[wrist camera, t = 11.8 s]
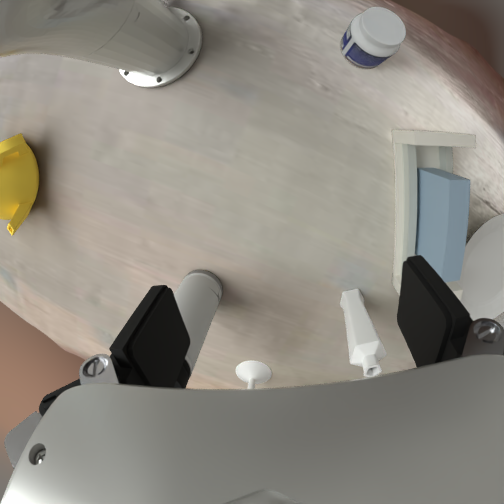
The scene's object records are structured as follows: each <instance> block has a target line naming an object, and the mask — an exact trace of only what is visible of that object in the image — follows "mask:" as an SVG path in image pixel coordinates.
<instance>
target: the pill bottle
mask: <svg viewBox="0 0 504 504" xmlns="http://www.w3.org/2000/svg"><path fill="white" fill-rule="evenodd" d="M405 36H406V29H405V26H404V24H403V22H402V20H401V19H400V18H399V17H398V16H397V15H396V14H395V13H393V12H392V11H390V10H388V9H386V8H382V7H371V8H368V9H367V10H365V11H364V13H361V14H359V15H357V16H356V17H355V18H354V19H353V20H352V22H351V24H350V25H349V27H348V29H347V30H346V32H345V34H344V36H343V37H342V40H341V44H340V48H341V52H342V54H343V56H344V57H345V59H346V60H347V61H348V62H349V63H351V64H352V65H354V66H356V67H358V68H362V69H371V68H374V67H376V66H378V65H379V64H381V63H382V62H383V61H385V60H386V59H388V58H389V57H390V56H392V55H393V54H395V53H396V52H397V51H398V49H399V47H400V44H401V43H402V42H403V40H404V39H405Z"/></svg>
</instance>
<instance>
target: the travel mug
mask: <svg viewBox="0 0 504 504" xmlns="http://www.w3.org/2000/svg"><path fill="white" fill-rule="evenodd" d="M222 293H223V288H222V285H221V283H220V281H219V279H218V278H217V277H216V276H215V275H213V274H212V273H210V272H208V271H204V270H195V271H192V272H190V273H188V274H187V275H186V277H185V278H184V280H183V281H182V283H181V284H180V286H179V287H178V289H177V290H176V292H175V293H174V297H175V300H176V302H177V305H178V308H179V310H180V313H181V316H182V318H183V321H184V324H185V326H186V329H187V331H188V334H189V336H190V346H189V349H188V352H187V354H186V357H185V359H184V362H183V365H182V367H181V370H180V373H179V375H178V378H177V381H176V383H175V386H174V388H186V385H187V383H188V380H189V378H190V376H191V374H192V371H193V368H194V366H195V363H196V361H197V358H198V355H199V353H200V350H201V348H202V345H203V343H204V340H205V337H206V335H207V332H208V330H209V327H210V325H211V322H212V319H213V317H214V314H215V312H216V309H217V307H218V304H219V302H220V299H221V297H222Z"/></svg>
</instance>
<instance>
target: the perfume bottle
mask: <svg viewBox="0 0 504 504" xmlns="http://www.w3.org/2000/svg"><path fill="white" fill-rule="evenodd" d="M340 306H341V307H342V308H343V310H344V316H345V324H346V331H347V340H348V349H349V358H350V364H353V365H357V366H361V367H363V369H364V376H366V377H373V376H376V375H378V374H379V373H381V372H382V369H381V367H380V365H379V363H378V361H380V360H381V359H382V358H384V357H385V356H386V355H387V354H386V351H385V349H384V347H383V345H382V342H381V340H380V338H379V336H378V333H377V331H376V329H375V327H374V325H373V323H372V321H371V318H370V316H369V314H368V312H367V310H366V308H365V306H364V298H363V296H362V294H361V292H360V290H359V289H353V290H348V291H344V292H343V293H342V297H341V301H340Z"/></svg>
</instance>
